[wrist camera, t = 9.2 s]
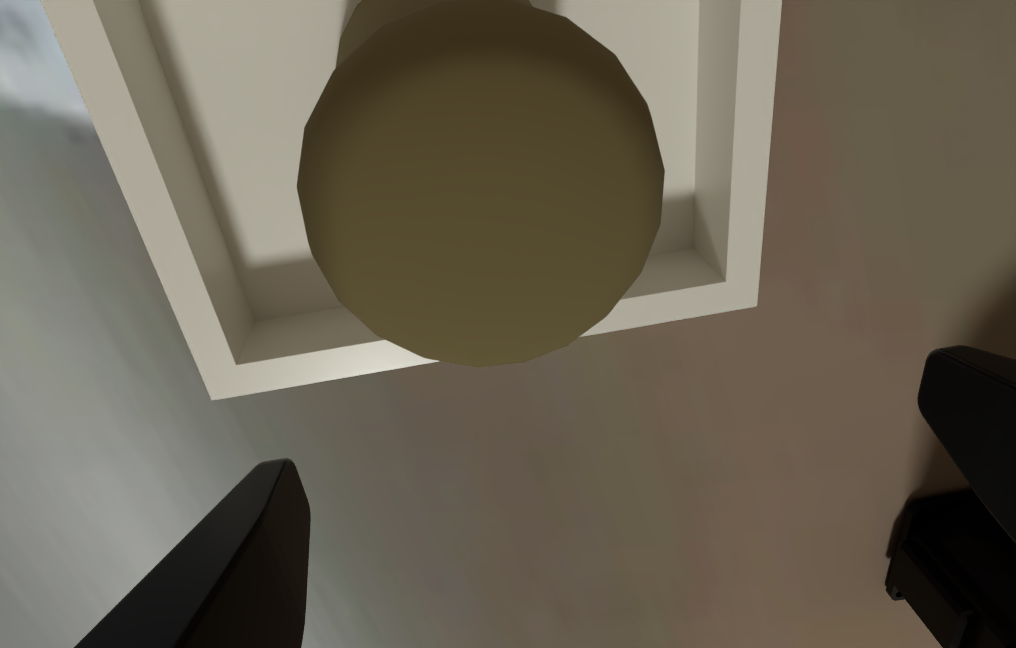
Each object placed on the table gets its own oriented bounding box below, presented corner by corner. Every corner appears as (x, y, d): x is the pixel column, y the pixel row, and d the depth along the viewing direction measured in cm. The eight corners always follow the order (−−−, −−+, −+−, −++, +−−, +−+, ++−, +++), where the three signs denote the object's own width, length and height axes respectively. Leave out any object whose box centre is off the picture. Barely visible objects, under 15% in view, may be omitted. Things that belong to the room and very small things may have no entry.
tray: (730, -280, 15) (809, -338, 12) (709, 259, 22) (756, 306, 19) (36, -197, 14) (-62, -237, 11) (239, 338, 21) (211, 400, 18)
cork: (333, -56, 16) (214, -84, 6) (575, -24, 17) (798, -4, 7) (335, 189, 18) (256, 430, 9) (543, 203, 20) (671, 434, 10)
